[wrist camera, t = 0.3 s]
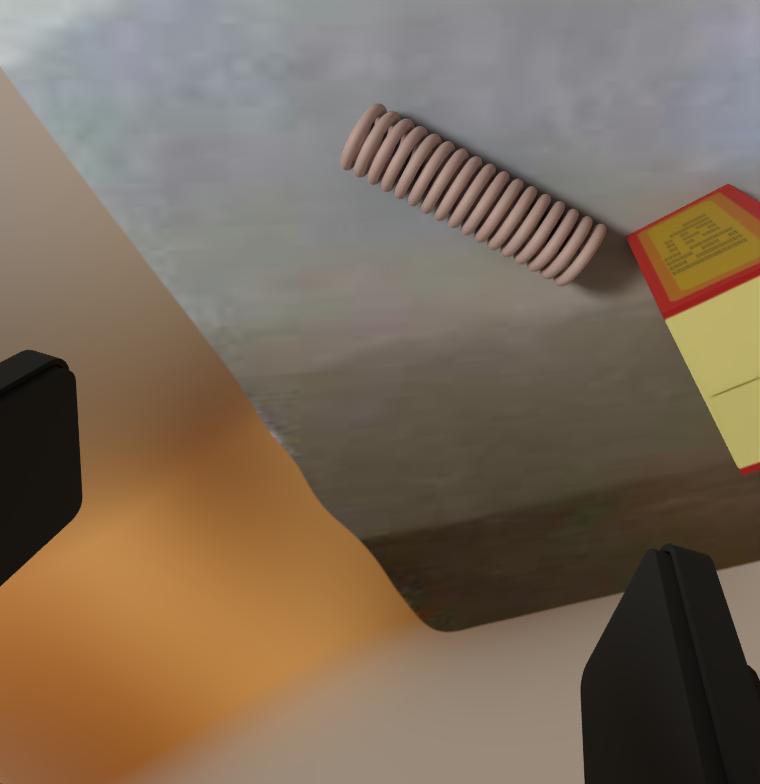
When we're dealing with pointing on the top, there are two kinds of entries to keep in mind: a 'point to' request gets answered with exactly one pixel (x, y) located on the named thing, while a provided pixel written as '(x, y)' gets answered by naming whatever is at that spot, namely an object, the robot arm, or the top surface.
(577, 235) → the coil
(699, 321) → the baking soda box
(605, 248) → the top surface
